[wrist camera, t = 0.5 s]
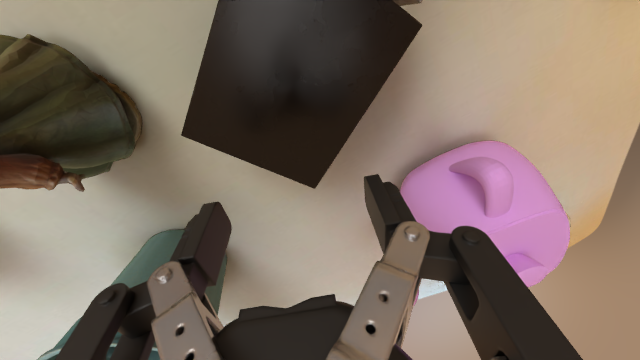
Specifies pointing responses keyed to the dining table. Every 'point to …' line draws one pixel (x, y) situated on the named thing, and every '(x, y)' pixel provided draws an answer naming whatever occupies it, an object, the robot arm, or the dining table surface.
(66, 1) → the dining table surface
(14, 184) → the figurine
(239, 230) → the dining table surface
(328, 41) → the small drawer cabinet
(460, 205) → the teapot
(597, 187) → the dining table surface
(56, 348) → the flower pot
